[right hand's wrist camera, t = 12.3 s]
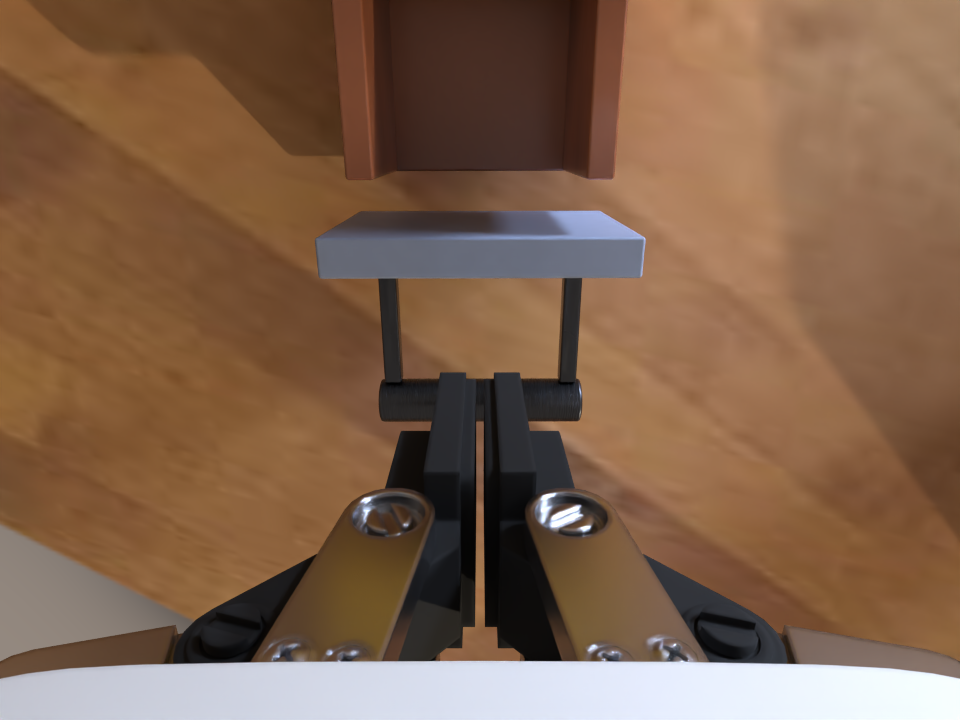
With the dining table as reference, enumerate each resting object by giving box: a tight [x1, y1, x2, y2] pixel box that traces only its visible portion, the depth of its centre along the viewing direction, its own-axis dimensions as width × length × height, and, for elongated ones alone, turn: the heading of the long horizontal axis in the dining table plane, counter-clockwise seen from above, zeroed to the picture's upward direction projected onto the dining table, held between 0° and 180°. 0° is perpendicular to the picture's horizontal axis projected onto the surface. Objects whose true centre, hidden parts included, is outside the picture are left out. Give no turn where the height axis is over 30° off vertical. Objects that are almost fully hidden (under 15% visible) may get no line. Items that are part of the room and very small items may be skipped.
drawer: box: [315, 0, 645, 422], centre depth 18 cm, size 24×10×7 cm, turn 0°
